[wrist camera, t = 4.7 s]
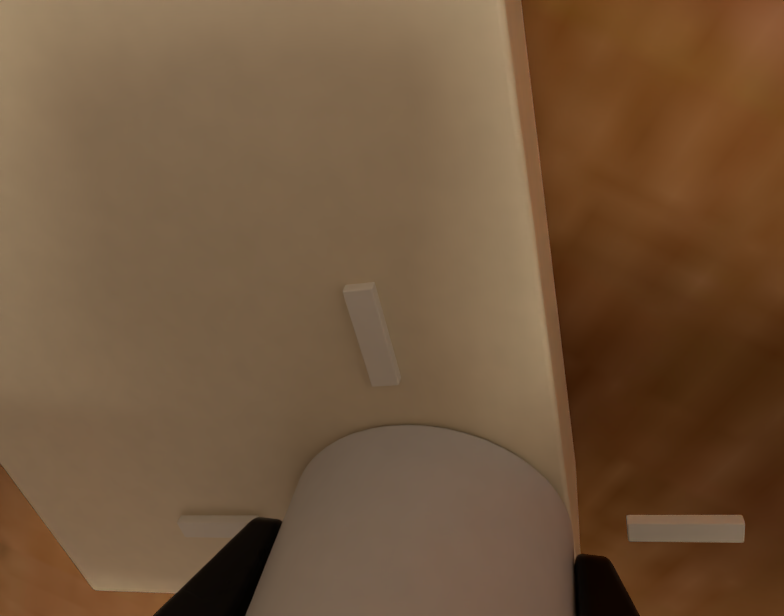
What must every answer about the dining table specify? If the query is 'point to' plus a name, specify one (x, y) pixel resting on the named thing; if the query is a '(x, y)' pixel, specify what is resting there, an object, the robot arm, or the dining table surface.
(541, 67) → the dining table surface
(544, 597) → the knob
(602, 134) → the dining table surface
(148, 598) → the dining table surface
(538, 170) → the panel
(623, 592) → the robot arm
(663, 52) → the dining table surface
